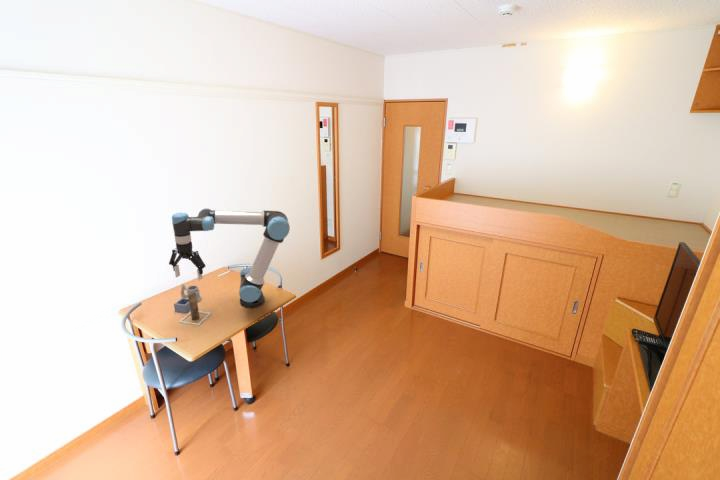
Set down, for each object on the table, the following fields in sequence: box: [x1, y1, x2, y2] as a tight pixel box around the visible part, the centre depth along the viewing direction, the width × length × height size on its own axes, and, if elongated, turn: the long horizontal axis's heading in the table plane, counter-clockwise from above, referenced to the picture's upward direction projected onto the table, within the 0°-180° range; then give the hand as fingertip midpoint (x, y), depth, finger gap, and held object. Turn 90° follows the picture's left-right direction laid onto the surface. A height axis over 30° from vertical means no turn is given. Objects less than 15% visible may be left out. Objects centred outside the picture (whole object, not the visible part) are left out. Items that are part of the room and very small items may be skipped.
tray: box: [178, 310, 212, 327], centre depth 192 cm, size 12×12×2 cm
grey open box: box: [173, 297, 191, 314], centre depth 200 cm, size 8×8×6 cm
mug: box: [180, 283, 202, 303], centre depth 208 cm, size 8×12×12 cm, turn 88°
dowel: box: [188, 293, 200, 321], centre depth 190 cm, size 4×4×16 cm
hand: (189, 277), depth 183 cm, fingers open, 13 cm apart
